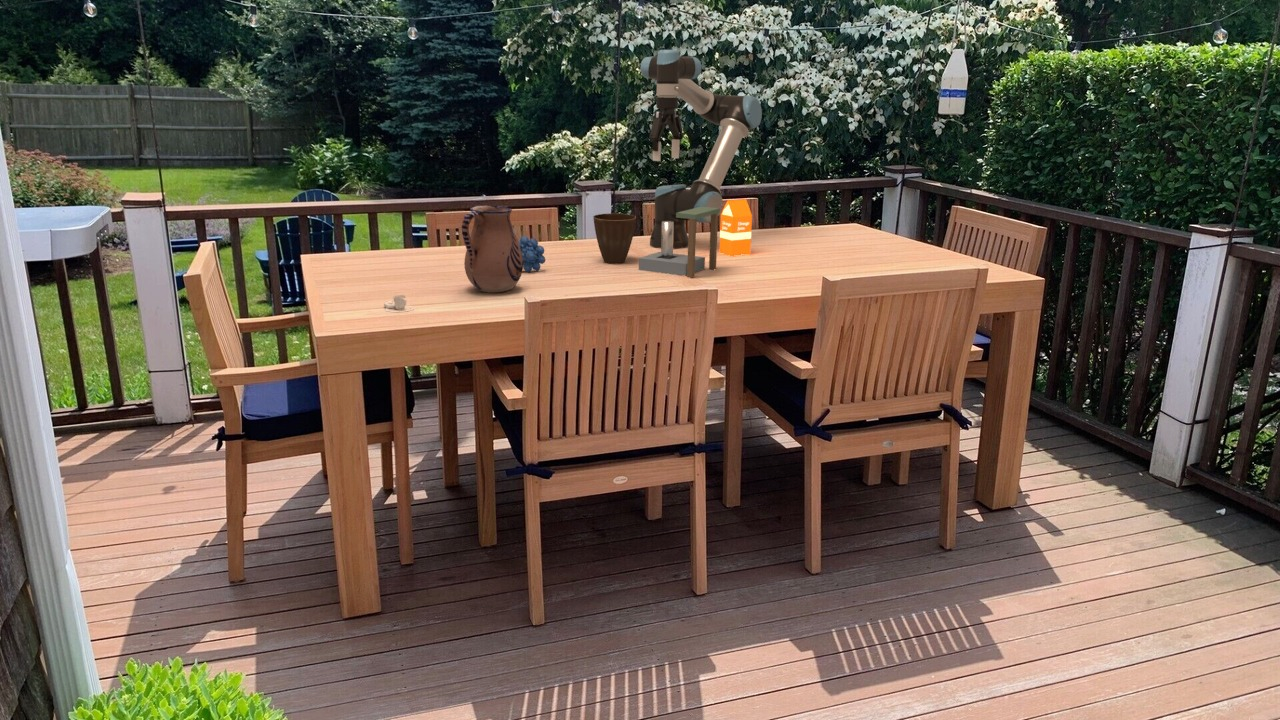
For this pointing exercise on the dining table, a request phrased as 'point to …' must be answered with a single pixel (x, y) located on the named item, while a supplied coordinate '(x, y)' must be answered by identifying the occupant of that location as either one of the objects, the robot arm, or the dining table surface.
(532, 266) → the grapes
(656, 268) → the socket block
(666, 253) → the steel peg
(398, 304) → the teacup and saucer
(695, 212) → the awning
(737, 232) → the orange juice
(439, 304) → the dining table surface
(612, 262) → the plant pot
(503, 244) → the ceramic pitcher
